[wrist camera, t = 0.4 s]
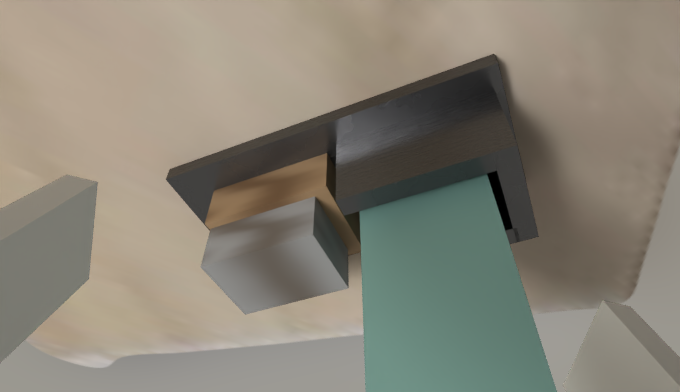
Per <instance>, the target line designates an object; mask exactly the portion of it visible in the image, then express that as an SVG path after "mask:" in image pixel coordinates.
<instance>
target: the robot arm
mask: <svg viewBox="0 0 680 392" xmlns="http://www.w3.org/2000/svg"><path fill="white" fill-rule="evenodd" d="M97 184H98V182H96V181H92V180H88V179H83V178H79V177H75V176H70V175H65V176H63V177H61V178H59V179H57V180H55V181H53V182H52V183H50V184H48V185H46V186H44V187H42V188H40V189H38V190H36V191H34V192H32V193H30V194H28V195H26V196H24V197H23V198H21V199H19V200H17V201H15V202H13V203H11V204H9V205H7V206H5V207H3V208H1V209H0V363H1V362H2V361H3V360H4V359H5V358H6V357H7V356H8V355H9V354H10V353H11V352H12V351H14V350H15V349H16V347H18V346H19V345H20V344H21V343H22V342H23V341H24V340H25V339H26V338H27V337H28V336H29V335H30V334H31V333H32V332H34V331H35V330H36V329H37V328H38V327H39V326H40V325H41V324H42V323H43V322H44V321H45V320H46V319H47V318H48V317H49V316H50V315H51V314H52V313H54V312H55V311H56V310H57V309H58V308H59V307H60V306H61V305H62V304H63V303H64V302H65V301H66V300H67V299H68V298H69V297H70V296H71V295H72V294H74V293H75V292H76V291H77V290H78V289H79V288H80V287H81V286H82V285H83V284H84V283H85V282H86V281H87V280H88V279H89V271H90V260H91V250H92V239H93V228H94V217H95V206H96V195H97ZM563 387H564V389H565V391H566V392H680V357H679V356H678V355H677V354H676V353H675V352H674V351H673V350H672V349H671V348H670V347H669V346H668V345H667V344H666V343H665V342H664V341H663V340H662V339H661V338H660V337H659V336H658V335H657V334H656V332H655V331H654V330H652V328H651V327H650V326H649V325H648V324H647V323H646V322H645V321H644V320H643V319H642V318H641V317H640V316H639V315H638V314H637V313H636V312H635V311H634V310H633V309H632V308H631V307H629V306H626V305H621V304H617V303H613V302H608V301H604V300H602V302H601V304H600V306H599V308H598V311H597V313H596V315H595V317H594V319H593V322H592V324H591V326H590V328H589V330H588V332H587V334H586V337H585V339H584V341H583V343H582V346H581V347H580V350H579V352H578V354H577V356H576V358H575V360H574V363H573V365H572V367H571V369H570V371H569V373H568V376H567V378H566V380H565V382H564V384H563Z"/></svg>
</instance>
